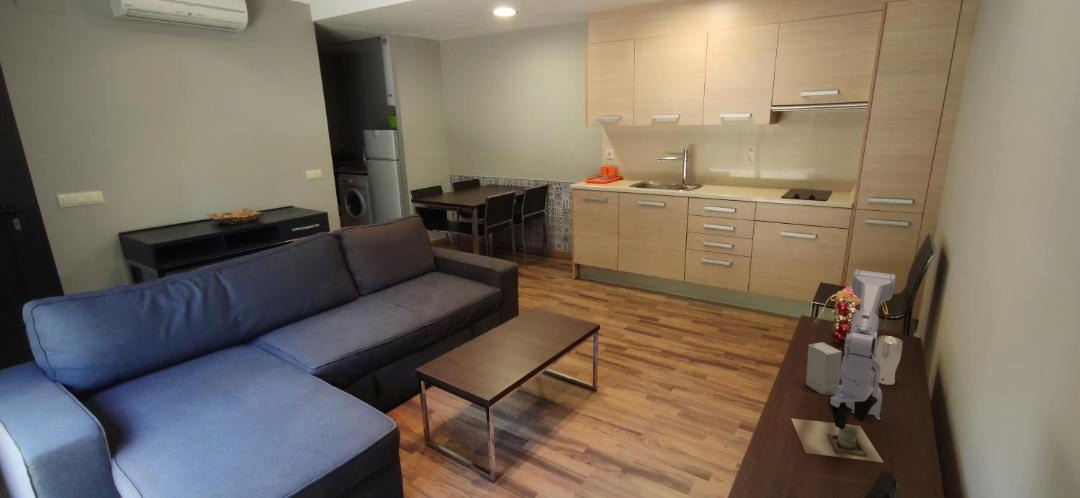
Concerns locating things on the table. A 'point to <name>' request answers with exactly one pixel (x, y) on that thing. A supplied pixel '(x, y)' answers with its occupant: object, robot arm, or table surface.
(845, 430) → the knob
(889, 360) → the beer glass
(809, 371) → the skincare box
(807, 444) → the board
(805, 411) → the table surface
